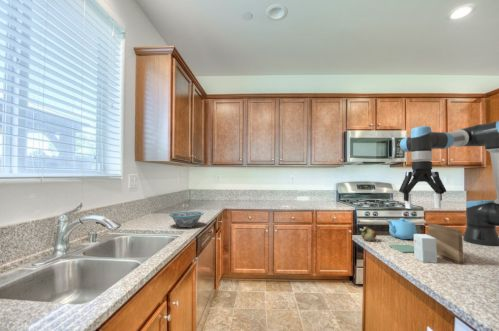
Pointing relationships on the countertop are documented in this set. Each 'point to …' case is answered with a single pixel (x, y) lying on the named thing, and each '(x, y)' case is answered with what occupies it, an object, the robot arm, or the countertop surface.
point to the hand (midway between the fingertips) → (423, 208)
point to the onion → (368, 234)
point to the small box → (425, 248)
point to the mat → (403, 248)
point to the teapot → (402, 229)
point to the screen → (447, 242)
